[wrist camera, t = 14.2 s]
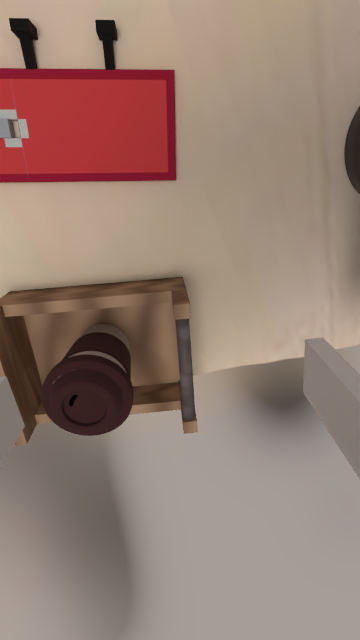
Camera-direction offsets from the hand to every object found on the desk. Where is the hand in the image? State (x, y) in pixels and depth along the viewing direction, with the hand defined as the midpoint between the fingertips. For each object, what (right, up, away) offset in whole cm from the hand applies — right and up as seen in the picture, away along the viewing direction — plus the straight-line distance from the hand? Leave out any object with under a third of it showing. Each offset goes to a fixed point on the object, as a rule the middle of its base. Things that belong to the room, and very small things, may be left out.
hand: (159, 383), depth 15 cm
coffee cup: (-10, -1, +34) cm, 36 cm away
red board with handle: (-15, +27, +24) cm, 39 cm away
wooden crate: (-10, 0, +35) cm, 37 cm away
